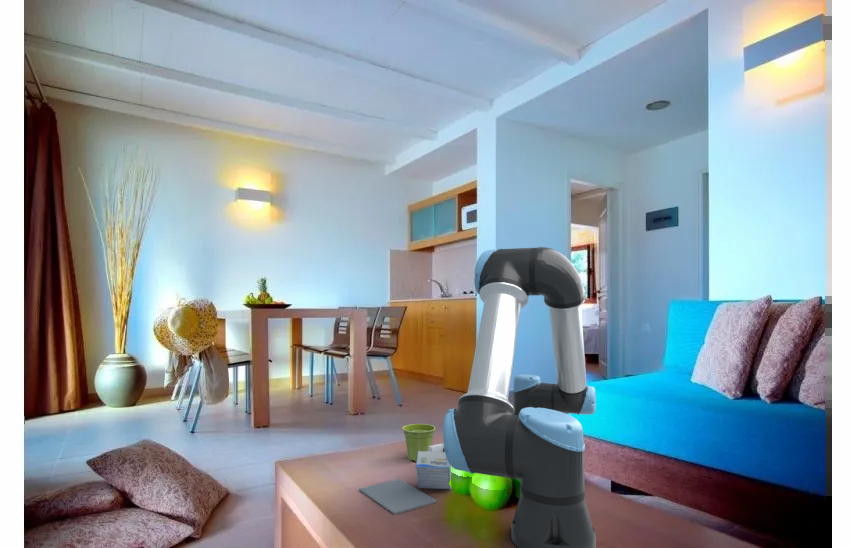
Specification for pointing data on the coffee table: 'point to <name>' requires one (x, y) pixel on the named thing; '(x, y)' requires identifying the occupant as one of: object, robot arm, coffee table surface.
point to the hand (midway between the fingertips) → (430, 452)
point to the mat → (397, 496)
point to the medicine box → (433, 470)
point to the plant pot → (418, 438)
